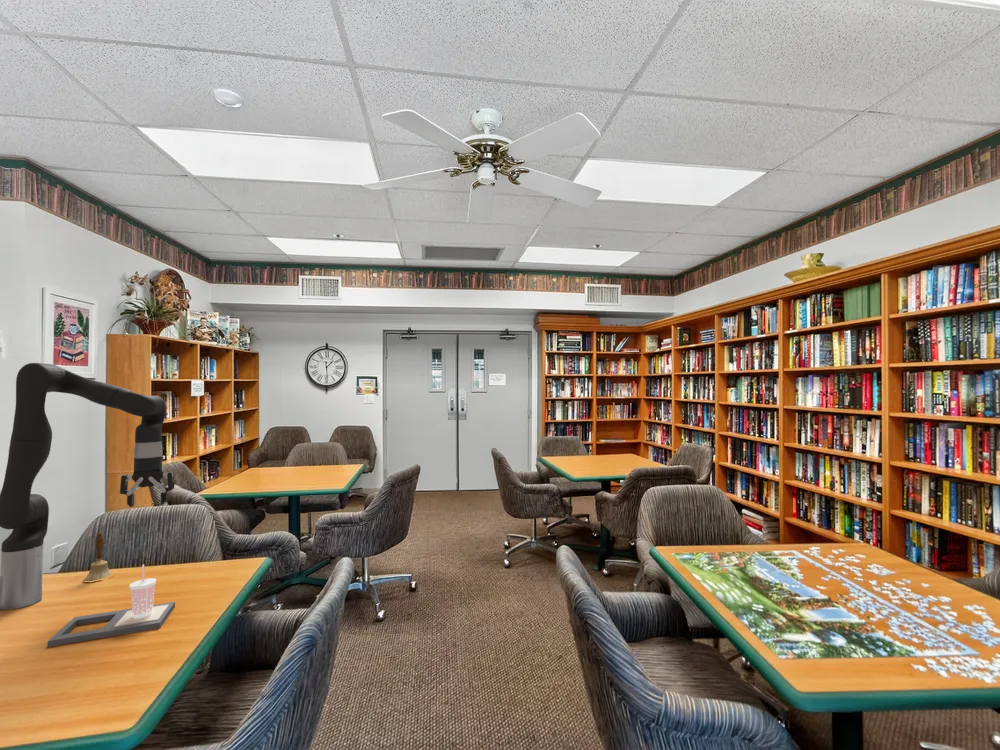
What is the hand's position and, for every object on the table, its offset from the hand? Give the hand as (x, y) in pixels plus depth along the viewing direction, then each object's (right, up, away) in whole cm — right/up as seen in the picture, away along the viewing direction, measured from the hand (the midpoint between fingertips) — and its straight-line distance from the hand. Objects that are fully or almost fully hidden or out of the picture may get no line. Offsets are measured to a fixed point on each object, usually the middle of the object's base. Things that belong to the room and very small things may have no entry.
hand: (147, 505), depth 153 cm
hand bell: (-26, -30, +12) cm, 41 cm away
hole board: (+9, -27, -24) cm, 37 cm away
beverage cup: (+15, -25, -21) cm, 36 cm away
